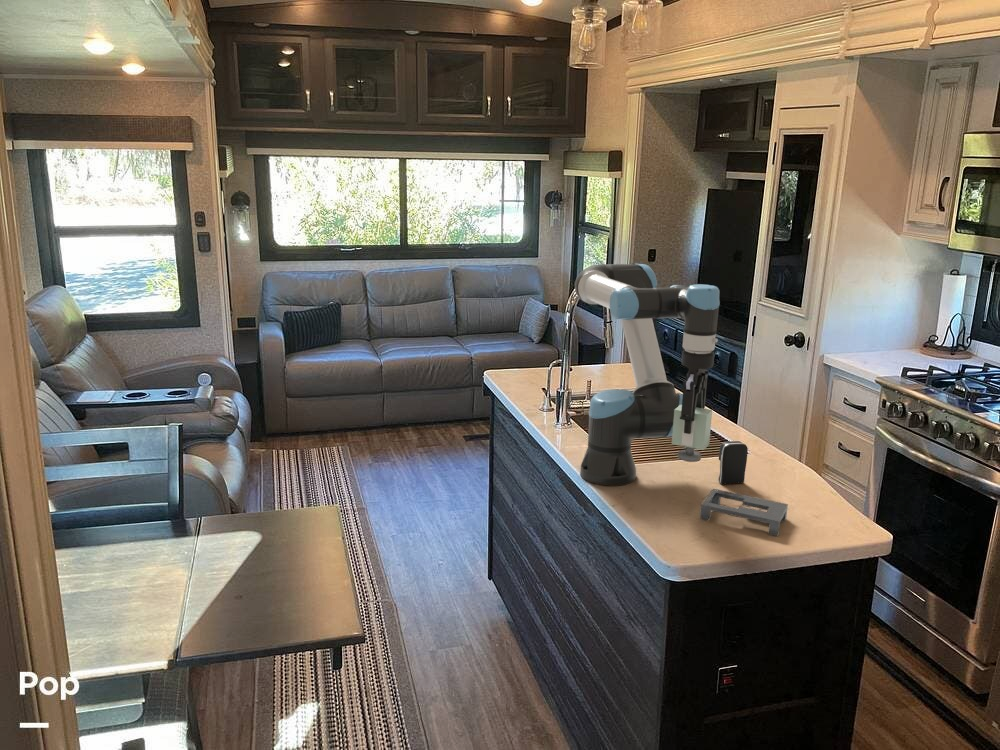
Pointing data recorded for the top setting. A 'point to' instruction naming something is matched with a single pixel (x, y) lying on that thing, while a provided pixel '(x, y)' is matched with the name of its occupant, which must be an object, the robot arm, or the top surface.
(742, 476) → the battery charger
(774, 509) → the keyhole plate
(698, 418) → the pale green boxy piece
